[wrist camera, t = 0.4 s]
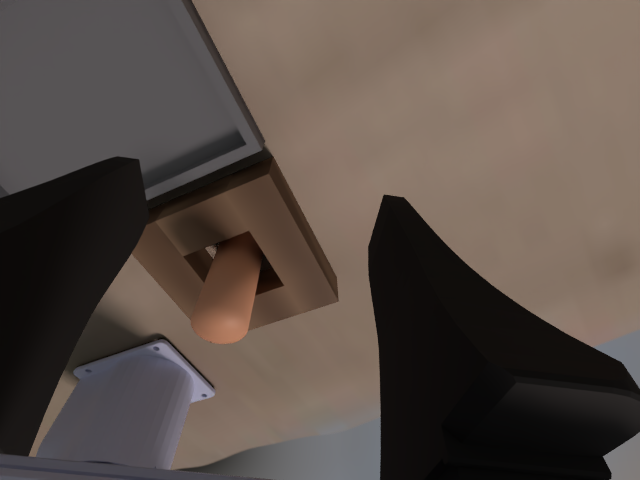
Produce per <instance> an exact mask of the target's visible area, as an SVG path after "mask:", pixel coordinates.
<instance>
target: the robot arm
mask: <svg viewBox="0 0 640 480" xmlns="http://www.w3.org/2000/svg"><path fill="white" fill-rule="evenodd" d="M148 220H149V211H148V205H147V200H146V194H145V189H144V183H143V178H142V172H141V167H140V161H139V159H134V158H127V157H120V156H116V157H112V158H109V159H106V160H103V161H100V162H97V163H94V164H92V165H89V166H86V167H84V168H81V169H79V170H76V171H73V172H71V173H68V174H66V175H63V176H61V177H58V178H55V179H53V180H50V181H48V182H45V183H42V184H39V185H36V186H33V187H31V188H28V189H25V190H22V191H19V192H16V193H14V194H11V195H8V196H5V197H2V198H0V480H271V479H260V478H250V477H240V476H229V475H219V474H208V473H198V472H185V471H176V470H170V468H171V465H172V462H173V459H174V455H175V452H176V449H177V445H178V442H179V439H180V436H181V432H182V429H183V426H184V423H185V419H186V416H187V413H188V409H189V406H190V403H193V402H196V401H200V400H203V399H206V398H210V397H213V396H214V395H215V389H214V388H213V387H212V386H211V385H210V384H209V383H208V382H207V381H206V380H205V379H204V378H203V377H202V376H201V375H200V374H199V373H198V372H197V371H196V370H195V369H194V368H193V367H192V366H191V365H190V364H189V363H188V362H187V361H186V360H185V359H184V358H183V357H182V356H181V355H180V354H179V353H178V352H177V351H176V350H175V349H174V348H173V347H172V346H171V344H170V343H169V342H168V341H166V340H164V339H160V340H157V341H154V342H151V343H148V344H145V345H142V346H139V347H136V348H133V349H130V350H127V351H124V352H121V353H118V354H115V355H112V356H109V357H106V358H103V359H100V360H97V361H94V362H91V363H88V364H85V365H82V366H79V367H77V368H75V370H74V372H73V374H74V375H75V376H76V377H78V378H79V379H80V380H79V382H78V383H77V385H76V387H75V388H74V390H73V392H72V393H71V395H70V397H69V398H68V400H67V401H66V403H65V405H64V406H63V408H62V410H61V411H60V413H59V414H58V416H57V418H56V419H55V421H54V423H53V424H52V426H51V428H50V429H49V431H48V432H47V434H46V436H45V437H44V439H43V441H42V443H41V445H40V447H39V449H38V452H37V455H36V457H29V453H30V451H31V448H32V445H33V443H34V440H35V438H36V435H37V433H38V430H39V427H40V425H41V422H42V420H43V417H44V415H45V412H46V410H47V408H48V405H49V403H50V401H51V398H52V396H53V394H54V391H55V389H56V387H57V384H58V382H59V380H60V377H61V375H62V373H63V371H64V369H65V367H66V365H67V362H68V360H69V358H70V356H71V354H72V352H73V350H74V348H75V345H76V343H77V341H78V339H79V338H80V336H81V334H82V332H83V330H84V328H85V326H86V324H87V322H88V320H89V318H90V316H91V314H92V313H93V311H94V309H95V308H96V306H97V304H98V303H99V301H100V300H101V298H102V297H103V295H104V294H105V292H106V291H107V289H108V288H109V286H110V285H111V283H112V282H113V280H114V279H115V277H116V276H117V274H118V273H119V271H120V270H121V268H122V267H123V265H124V264H125V262H126V261H127V259H128V258H129V256H130V255H131V253H132V252H133V250H134V249H135V247H136V245H137V244H138V242H139V240H140V237H141V235H142V233H143V231H144V229H145V227H146V224H147V222H148ZM368 269H369V281H370V288H371V295H372V302H373V308H374V315H375V322H376V328H377V335H378V345H379V364H380V401H381V466H380V467H381V468H380V470H381V471H380V480H609V479H611V471H610V469H609V468H608V466H607V464H606V462H605V460H604V458H603V456H604V455H606V454H607V453H609V452H611V451H612V450H614V449H615V448H617V447H618V446H620V445H621V444H623V443H624V442H626V441H627V440H629V439H630V438H632V437H634V436H635V435H636V434H637V433H639V432H640V389H639V388H638V386H637V384H636V383H635V381H634V380H633V378H632V377H631V375H630V374H629V372H628V371H627V369H626V368H625V366H624V365H623V364H622V362H620V361H618V360H616V359H614V358H612V357H610V356H608V355H606V354H604V353H602V352H600V351H598V350H596V349H595V348H593V347H591V346H589V345H587V344H585V343H583V342H581V341H579V340H577V339H575V338H573V337H571V336H570V335H568V334H566V333H564V332H563V331H561V330H559V329H558V328H556V327H554V326H552V325H551V324H549V323H547V322H546V321H544V320H542V319H541V318H539V317H537V316H536V315H534V314H533V313H531V312H530V311H528V310H526V309H525V308H523V307H522V306H520V305H519V304H518V303H516V302H515V301H513V300H512V299H510V298H509V297H508V296H506V295H505V294H503V293H502V292H500V291H499V290H498V289H496V288H495V287H494V286H492V285H491V284H490V283H489V282H487V281H486V280H485V279H484V278H483V277H481V276H480V275H479V274H478V273H476V272H475V271H474V270H473V269H472V268H470V267H469V266H468V265H467V264H466V263H465V262H464V261H463V260H462V259H461V258H460V257H458V256H457V255H456V254H455V253H454V252H453V251H452V250H451V249H450V248H449V247H448V246H447V245H446V244H445V243H444V242H443V241H442V240H441V239H440V237H439V236H438V235H437V234H436V233H435V232H434V231H433V230H432V229H431V228H430V226H429V225H428V224H427V223H426V222H425V221H424V220H423V218H422V217H421V216H420V215H419V214H418V213H417V212H416V210H415V209H414V208H413V207H412V206H411V205H410V203H409V202H408V201H407V200H406V199H405V198H404V197H397V196H390V195H384V196H383V199H382V202H381V206H380V209H379V213H378V216H377V219H376V223H375V226H374V229H373V233H372V236H371V240H370V243H369V246H368Z"/></svg>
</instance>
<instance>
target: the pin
mask: <svg viewBox="0 0 640 480" xmlns="http://www.w3.org/2000/svg"><path fill="white" fill-rule="evenodd" d="M262 258H263V251H262V250H261V248H260V247H259V245H258V244H257V242H256V240H255V239H254V237H253V236H252V234H251V233H250V232H249V231H247V232H244V233H242V234H239V235H237V236H234V237H231V238H229V239H226V240H224V241H221V242H220V244H219V246H218V249H217V251H216V254H215V257H214V259H213V262H212V264H211V267H210V270H209V272H208V275H207V277H206V280H205V283H204V285H203V288H202V290H201V293H200V296H199V298H198V301H197V303H196V306H195V309H194V311H193V314H192V316H191V326H192V328H193V330H194V331H195V333H196V334H197V335H199V336H200V337H201V338H203V339H205V340H207V341H210V342H213V343H218V344H229V343H234V342H237V341H239V340H241V339H242V338H243V337H244V336H245V335H246V334H247V332H248V328H249V323H250V318H251V313H252V308H253V303H254V298H255V293H256V288H257V283H258V278H259V273H260V268H261V263H262Z"/></svg>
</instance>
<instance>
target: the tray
mask: <svg viewBox="0 0 640 480" xmlns="http://www.w3.org/2000/svg"><path fill="white" fill-rule="evenodd" d="M264 143H265V140H264V138H263V136H262V134H261V132H260V130H259V128H258V126H257V125H256V123H255V121H254V119H253V117H252V115H251V113H250V111H249V109H248V107H247V106H246V104H245V102H244V100H243V98H242V96H241V94H240V92H239V90H238V88H237V86H236V85H235V83H234V81H233V79H232V77H231V75H230V73H229V71H228V69H227V67H226V65H225V64H224V62H223V60H222V58H221V56H220V54H219V52H218V50H217V48H216V46H215V45H214V43H213V41H212V39H211V37H210V35H209V33H208V31H207V29H206V27H205V25H204V24H203V22H202V20H201V18H200V16H199V14H198V12H197V10H196V8H195V6H194V4H193V3H192V1H191V0H0V198H2V197H5V196H8V195H11V194H14V193H16V192H19V191H22V190H25V189H28V188H31V187H33V186H36V185H39V184H42V183H45V182H48V181H50V180H53V179H55V178H58V177H61V176H63V175H66V174H68V173H71V172H73V171H76V170H79V169H81V168H84V167H86V166H89V165H92V164H94V163H97V162H100V161H103V160H106V159H109V158H112V157H116V156H120V157H127V158H134V159H139V161H140V167H141V172H142V178H143V183H144V189H145V194H146V200H149V199H152V198H154V197H156V196H159V195H161V194H163V193H165V192H168V191H170V190H172V189H175V188H177V187H179V186H181V185H184V184H186V183H188V182H191V181H193V180H195V179H197V178H200V177H202V176H204V175H207V174H209V173H211V172H214V171H216V170H218V169H220V168H223V167H225V166H227V165H230V164H232V163H234V162H236V161H239V160H241V159H243V158H246V157H248V156H250V155H252V154H255V153H257V152H259V151H262V149H263V146H264Z"/></svg>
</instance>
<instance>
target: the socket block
mask: <svg viewBox="0 0 640 480" xmlns="http://www.w3.org/2000/svg"><path fill="white" fill-rule="evenodd" d="M148 211H149V220H148V222H147V224H146V227H145V229H144V231H143V233H142V235H141V237H140V240H139V242H138V244H137V245H136V247H135V249H134V250H133V252H132V255H133V256H134V257H135V258H136V259H137V260H138V261H139V263H140V264H141V265H142V266H143V267H144V268H145V269H146V270H147V272H148V273H149V274H150V275H151V276H152V277H153V278H154V279H155V281H156V282H157V283H158V284H159V285H160V286H161V287H162V288H163V290H164V291H165V292H166V293H167V294H168V295H169V296H170V297H171V299H172V300H173V301H174V302H175V303H176V304H177V305H178V307H179V308H180V309H181V310H182V311H183V312H184V313H185V314H186V316H187V317H188V318H189V319H190V320H191V316H192V314H193V311H194V309H195V306H196V303H197V301H198V298H199V296H200V293H201V290H202V288H203V285H204V283H205V280H206V277H207V275H208V272H209V270H210V267H211V264H212V262H213V259H212V258H211V256H210V255H209V254H208V252H207V251H206V250H205V248H206V247H208V246H211V245H213V244H216V243H219V242H221V241H224V240H226V239H229V238H231V237H234V236H237V235H239V234H242V233H244V232H247V231H250V233H251V234H252V236H253V237H254V239H255V240H256V242H257V244H258V245H259V247H260V248H261V250H262V251H263V253H264V255H265V256H266V258H267V259H268V261H269V262H270V264H271V266H272V268H270V269H267V270H264V271H261V272H260V273H259V278H258V283H257V288H256V293H255V298H254V303H253V308H252V313H251V318H250V323H249V328H248V331H249V330H252V329H255V328H258V327H261V326H264V325H267V324H270V323H273V322H276V321H280V320H283V319H286V318H289V317H292V316H295V315H298V314H301V313H304V312H307V311H310V310H314V309H317V308H320V307H323V306H326V305H329V304H332V303H335V302H338V301H339V300H338V287H337V277H336V275H335V273H334V271H333V269H332V268H331V266H330V264H329V262H328V260H327V258H326V256H325V254H324V252H323V250H322V249H321V247H320V245H319V243H318V241H317V239H316V237H315V235H314V233H313V231H312V229H311V228H310V226H309V224H308V222H307V220H306V218H305V216H304V214H303V212H302V210H301V208H300V207H299V205H298V203H297V201H296V199H295V197H294V195H293V193H292V191H291V189H290V188H289V186H288V184H287V182H286V180H285V178H284V176H283V174H282V172H281V170H280V168H279V167H278V165H277V163H276V161H275V159H274V157H271V158H268V159H266V160H264V161H261V162H259V163H257V164H255V165H252V166H250V167H248V168H245V169H243V170H241V171H238V172H236V173H234V174H231V175H229V176H227V177H224V178H222V179H220V180H217V181H215V182H213V183H210V184H208V185H206V186H203V187H201V188H199V189H196V190H194V191H192V192H189V193H187V194H185V195H182V196H180V197H178V198H175V199H173V200H171V201H168V202H166V203H164V204H161V205H159V206H157V207H154V208H152V209H150V210H148ZM210 343H212V342H210Z"/></svg>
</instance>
